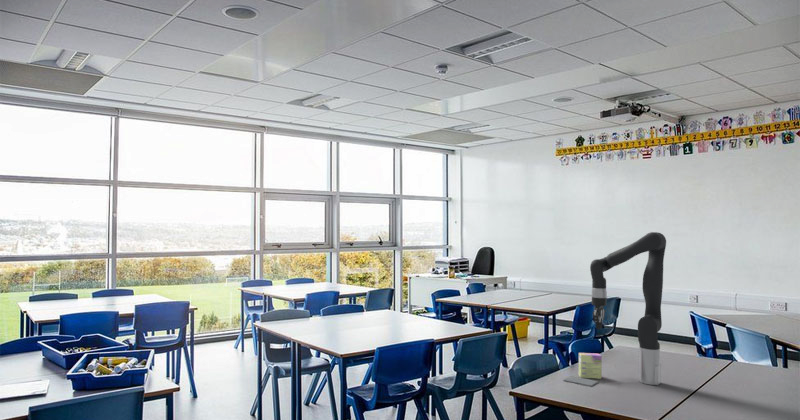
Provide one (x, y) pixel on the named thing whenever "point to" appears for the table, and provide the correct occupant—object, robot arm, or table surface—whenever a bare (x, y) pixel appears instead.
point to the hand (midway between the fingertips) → (598, 328)
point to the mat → (581, 381)
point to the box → (590, 365)
